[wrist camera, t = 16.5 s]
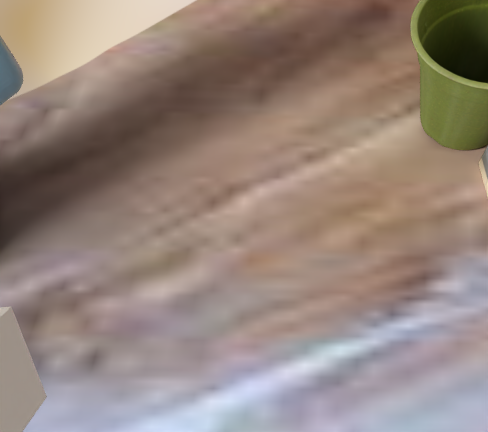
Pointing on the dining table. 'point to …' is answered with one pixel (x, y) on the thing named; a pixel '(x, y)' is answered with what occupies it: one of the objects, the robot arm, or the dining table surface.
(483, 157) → the notch board
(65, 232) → the dining table surface
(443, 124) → the plant pot
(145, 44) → the dining table surface
